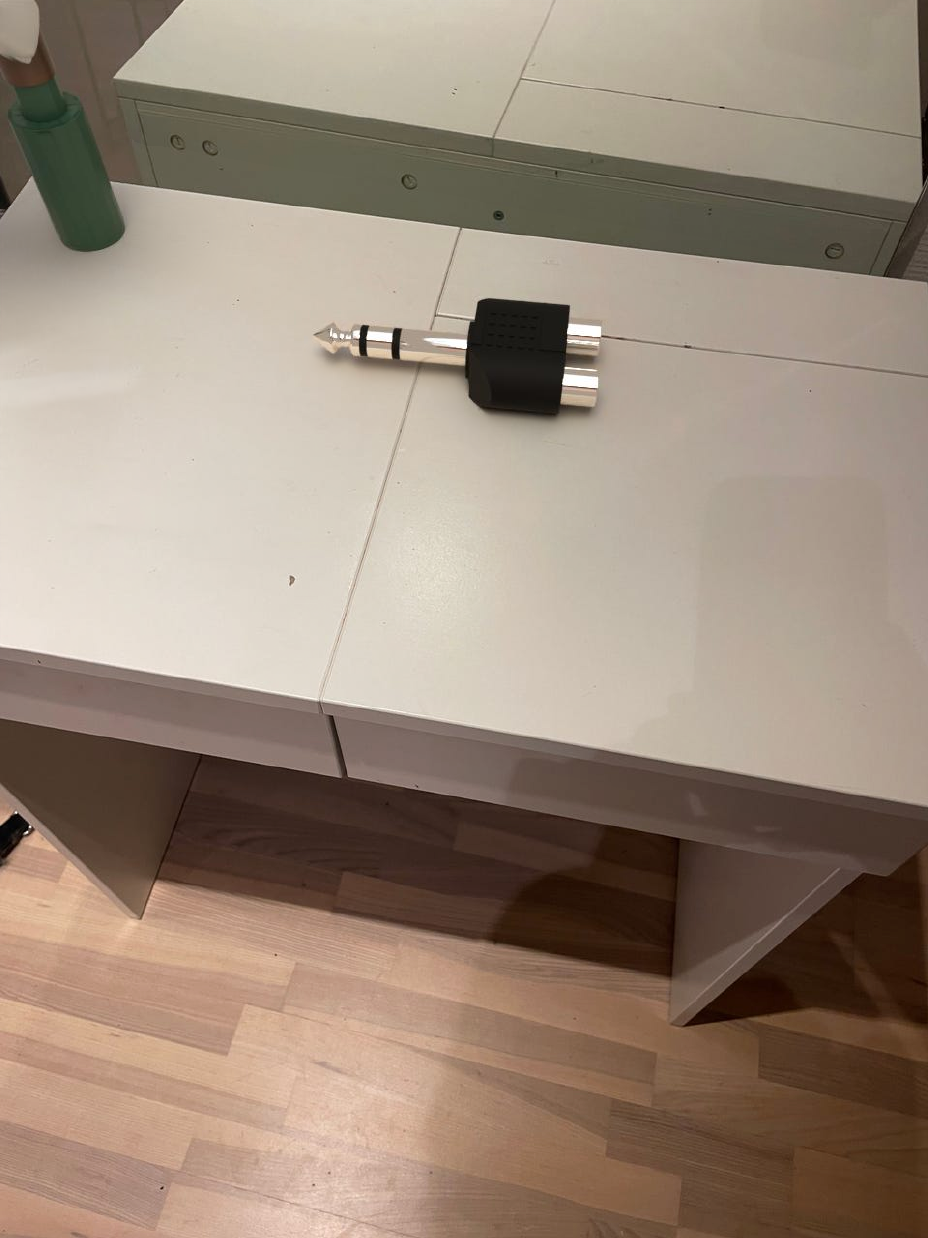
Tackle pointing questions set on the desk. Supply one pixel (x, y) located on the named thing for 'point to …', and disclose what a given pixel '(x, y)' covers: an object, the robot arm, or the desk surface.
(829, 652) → the desk surface
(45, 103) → the bottle
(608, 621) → the desk surface
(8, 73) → the brown cylinder
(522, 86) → the desk surface
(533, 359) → the audio adapter
